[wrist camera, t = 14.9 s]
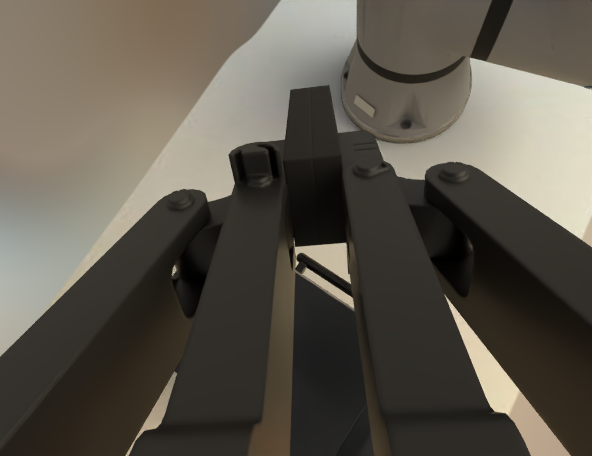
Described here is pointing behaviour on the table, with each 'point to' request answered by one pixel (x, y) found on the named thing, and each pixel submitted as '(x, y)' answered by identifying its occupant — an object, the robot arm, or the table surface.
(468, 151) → the table surface
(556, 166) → the table surface
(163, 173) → the table surface
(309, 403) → the box
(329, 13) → the table surface
